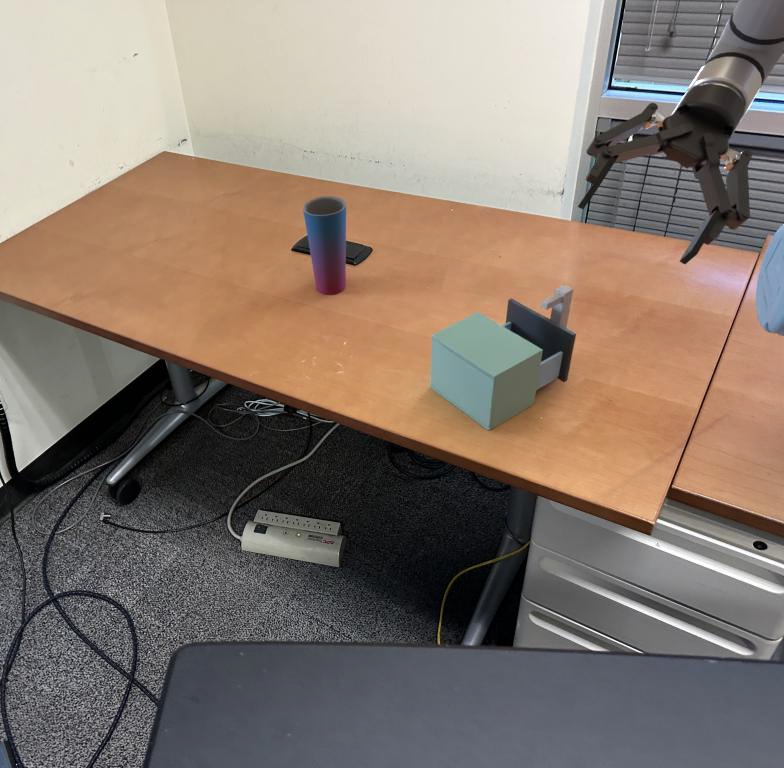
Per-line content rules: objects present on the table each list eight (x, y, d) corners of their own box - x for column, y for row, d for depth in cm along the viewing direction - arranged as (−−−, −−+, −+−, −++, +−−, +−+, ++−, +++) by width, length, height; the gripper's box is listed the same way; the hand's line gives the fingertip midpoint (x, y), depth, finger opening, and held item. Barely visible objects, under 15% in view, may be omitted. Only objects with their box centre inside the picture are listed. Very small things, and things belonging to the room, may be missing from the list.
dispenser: (473, 364, 97) (477, 311, 91) (534, 404, 89) (543, 349, 84) (430, 387, 94) (431, 334, 89) (488, 431, 87) (494, 376, 81)
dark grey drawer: (527, 332, 100) (536, 271, 93) (589, 367, 92) (603, 304, 86) (465, 365, 96) (469, 304, 89) (524, 405, 88) (534, 341, 82)
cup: (354, 277, 119) (350, 196, 109) (346, 298, 114) (340, 216, 104) (316, 275, 121) (309, 195, 111) (306, 296, 116) (297, 215, 106)
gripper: (788, 169, 88) (715, 295, 84) (611, 82, 93) (533, 196, 89) (831, 132, 81) (753, 268, 77) (636, 40, 86) (553, 162, 82)
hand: (635, 230), depth 83 cm, fingers open, 13 cm apart
